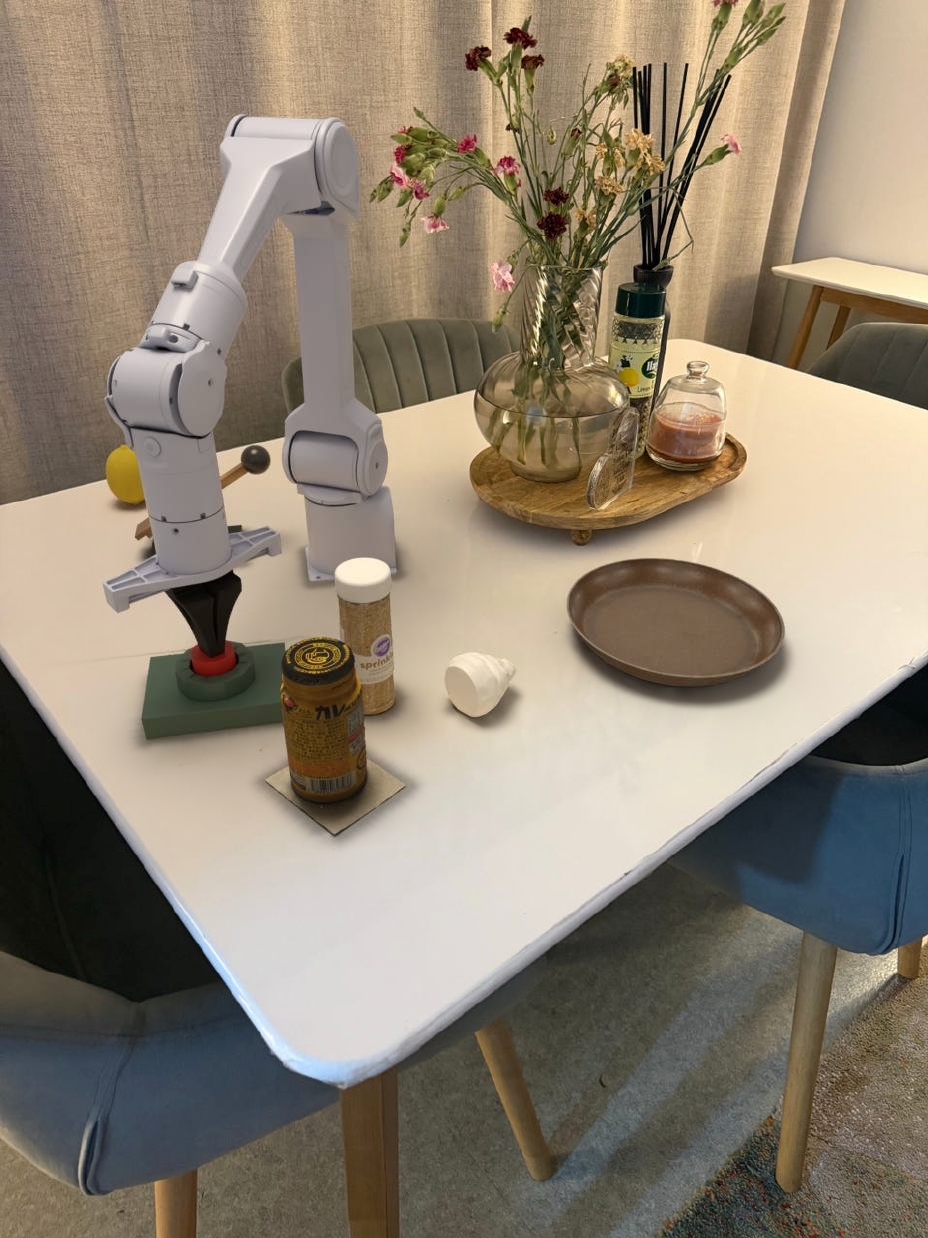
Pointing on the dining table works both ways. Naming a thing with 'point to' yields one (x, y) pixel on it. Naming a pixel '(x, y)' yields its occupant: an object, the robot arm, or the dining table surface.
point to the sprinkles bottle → (368, 627)
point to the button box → (213, 693)
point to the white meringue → (477, 682)
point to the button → (213, 661)
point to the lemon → (124, 475)
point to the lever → (227, 478)
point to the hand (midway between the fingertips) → (212, 650)
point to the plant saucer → (675, 621)
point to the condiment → (327, 736)
